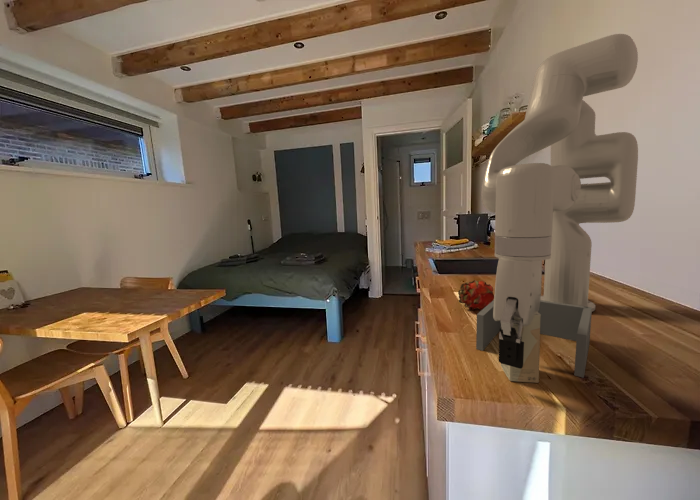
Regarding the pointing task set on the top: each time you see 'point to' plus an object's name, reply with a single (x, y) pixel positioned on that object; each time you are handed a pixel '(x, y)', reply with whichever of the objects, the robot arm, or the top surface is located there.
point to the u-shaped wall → (547, 327)
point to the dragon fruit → (476, 294)
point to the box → (527, 354)
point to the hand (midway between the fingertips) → (518, 352)
